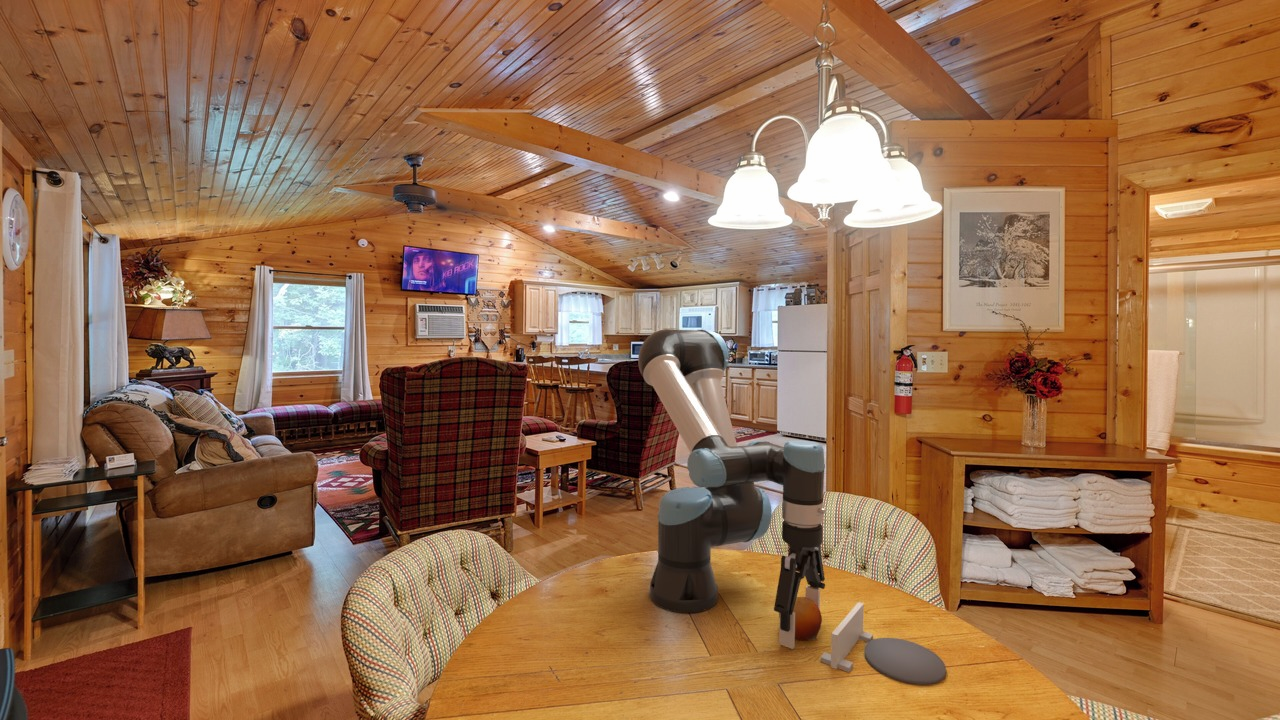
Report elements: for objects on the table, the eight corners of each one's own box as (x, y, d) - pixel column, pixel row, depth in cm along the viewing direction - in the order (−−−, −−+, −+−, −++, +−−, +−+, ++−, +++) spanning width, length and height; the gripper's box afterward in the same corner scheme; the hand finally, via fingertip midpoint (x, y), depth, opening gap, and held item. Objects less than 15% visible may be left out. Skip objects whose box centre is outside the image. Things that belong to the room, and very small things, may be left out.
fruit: (834, 641, 100) (812, 602, 100) (796, 658, 101) (774, 620, 102) (828, 619, 108) (807, 583, 108) (793, 635, 109) (772, 600, 110)
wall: (819, 662, 96) (820, 629, 95) (847, 628, 107) (848, 598, 107) (848, 673, 92) (849, 639, 92) (873, 637, 104) (874, 606, 104)
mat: (854, 664, 95) (854, 660, 95) (875, 634, 105) (875, 630, 105) (937, 695, 87) (937, 690, 87) (951, 659, 97) (951, 655, 97)
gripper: (796, 543, 93) (793, 667, 93) (842, 511, 111) (840, 614, 112) (756, 533, 97) (753, 651, 98) (807, 504, 116) (805, 603, 117)
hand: (800, 632), depth 105 cm, fingers open, 12 cm apart
